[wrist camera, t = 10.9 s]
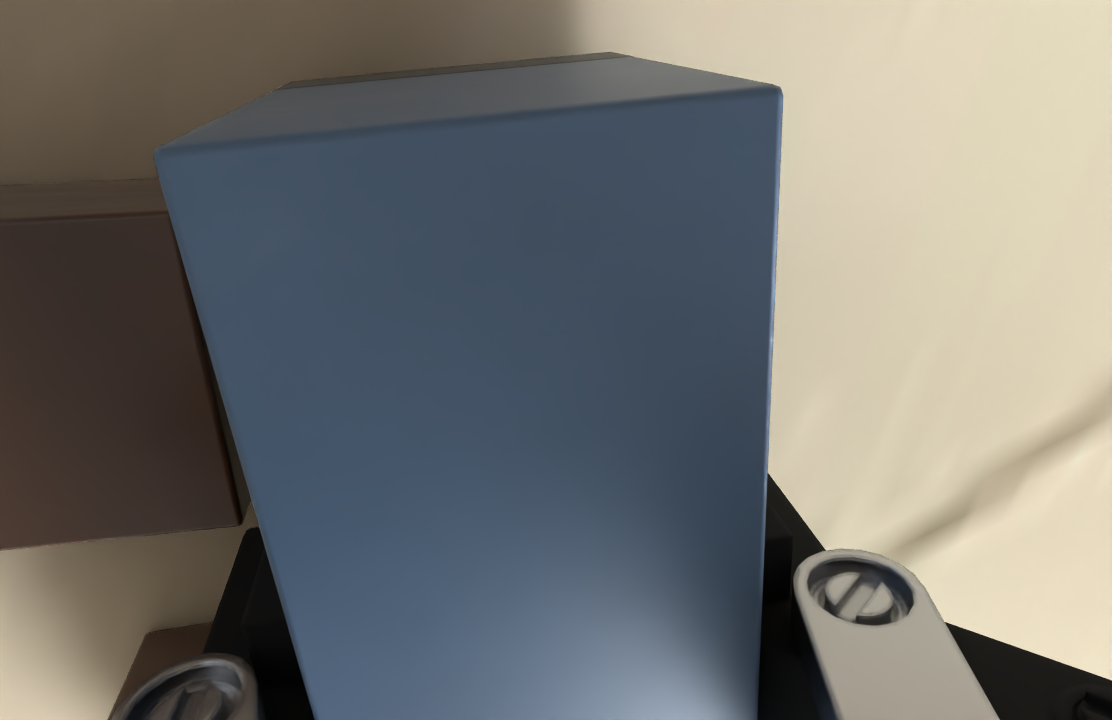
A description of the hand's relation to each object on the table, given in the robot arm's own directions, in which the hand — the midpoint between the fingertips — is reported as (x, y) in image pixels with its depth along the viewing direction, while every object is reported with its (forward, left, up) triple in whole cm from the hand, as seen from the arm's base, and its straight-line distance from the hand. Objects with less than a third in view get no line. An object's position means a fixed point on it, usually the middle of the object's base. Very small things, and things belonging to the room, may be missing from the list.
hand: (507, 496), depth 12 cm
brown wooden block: (-5, +3, -1) cm, 6 cm away
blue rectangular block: (0, 0, 0) cm, 0 cm away
